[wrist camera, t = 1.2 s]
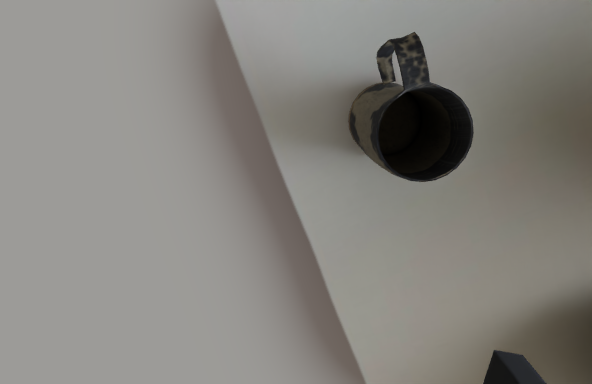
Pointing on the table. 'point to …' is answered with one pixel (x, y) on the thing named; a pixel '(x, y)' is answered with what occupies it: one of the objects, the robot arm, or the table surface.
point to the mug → (411, 117)
